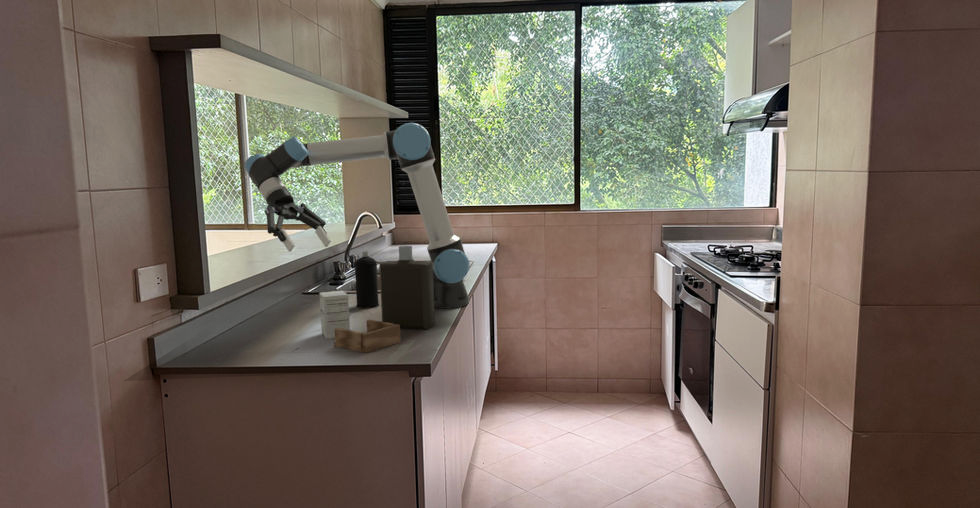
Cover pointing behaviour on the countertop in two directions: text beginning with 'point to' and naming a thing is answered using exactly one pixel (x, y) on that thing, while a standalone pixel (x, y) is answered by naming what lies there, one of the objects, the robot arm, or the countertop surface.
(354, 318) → the countertop surface
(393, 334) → the u rest
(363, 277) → the aerosol can
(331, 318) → the supplement box
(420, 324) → the bottle
